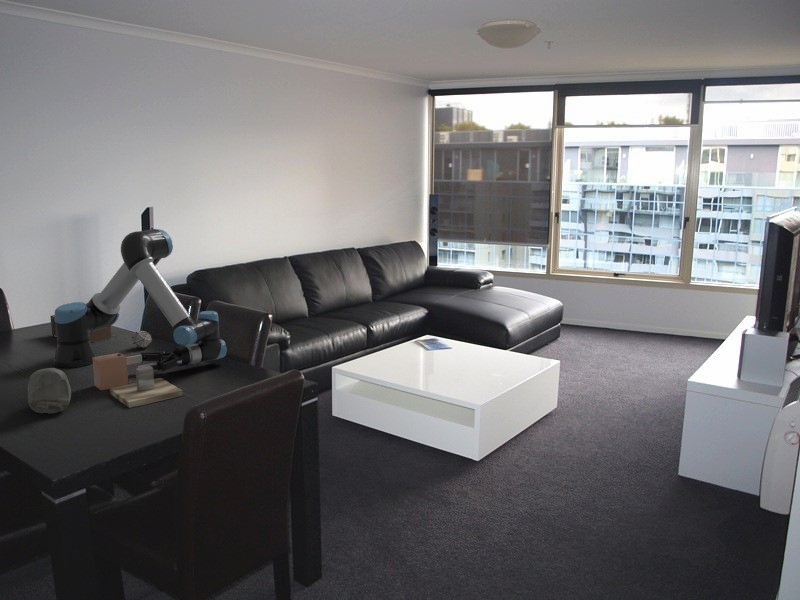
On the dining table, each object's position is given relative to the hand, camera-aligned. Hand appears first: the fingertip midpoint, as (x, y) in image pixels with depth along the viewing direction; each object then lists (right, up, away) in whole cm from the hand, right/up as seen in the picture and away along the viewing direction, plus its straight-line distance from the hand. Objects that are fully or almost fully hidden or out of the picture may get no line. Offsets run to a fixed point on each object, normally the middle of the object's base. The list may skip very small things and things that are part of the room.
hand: (130, 365), depth 238 cm
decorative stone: (-15, -12, -27) cm, 33 cm away
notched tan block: (-6, -7, -3) cm, 9 cm away
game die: (-14, +3, +46) cm, 48 cm away
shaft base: (+11, -9, -13) cm, 19 cm away
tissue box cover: (-49, +6, +63) cm, 80 cm away
